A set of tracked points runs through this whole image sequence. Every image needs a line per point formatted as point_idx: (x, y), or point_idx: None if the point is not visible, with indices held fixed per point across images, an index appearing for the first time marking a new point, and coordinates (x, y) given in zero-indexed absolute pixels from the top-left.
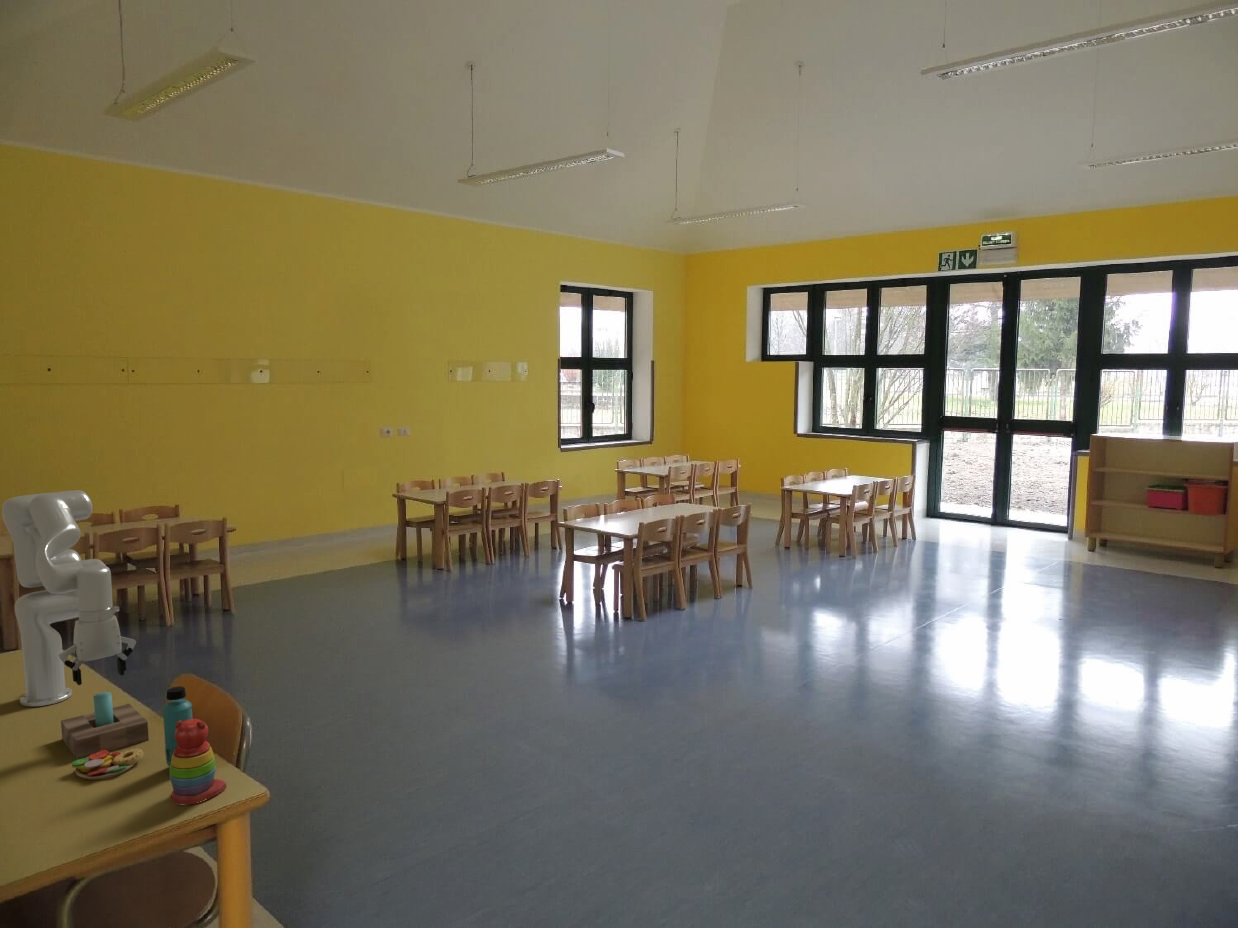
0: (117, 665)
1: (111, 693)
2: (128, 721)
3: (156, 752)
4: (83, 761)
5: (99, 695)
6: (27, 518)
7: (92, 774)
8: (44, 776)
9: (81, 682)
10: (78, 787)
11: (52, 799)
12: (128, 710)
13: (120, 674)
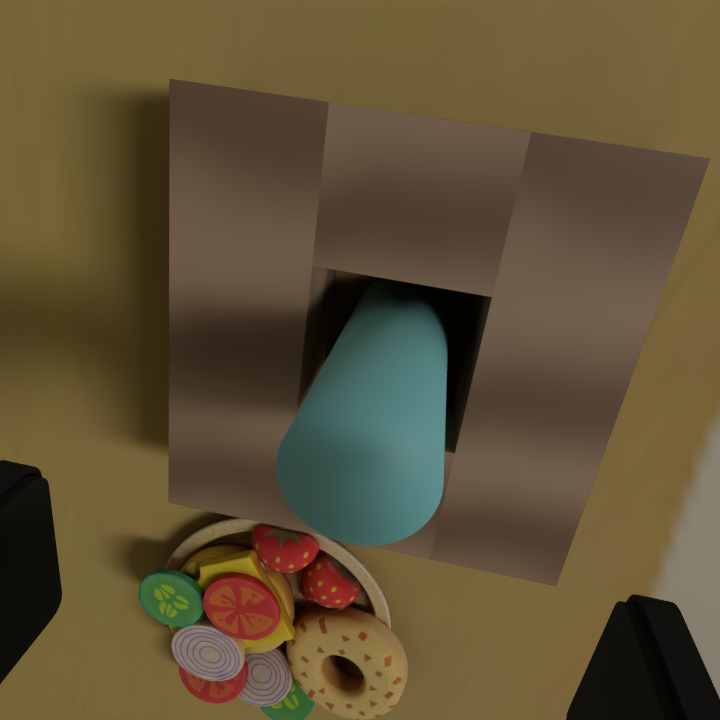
0: (662, 717)
1: (437, 505)
2: (485, 497)
3: (480, 640)
4: (179, 611)
5: (332, 464)
6: None
7: (188, 687)
8: (74, 483)
9: (44, 623)
10: (154, 652)
11: (72, 657)
12: (604, 309)
13: (572, 710)
